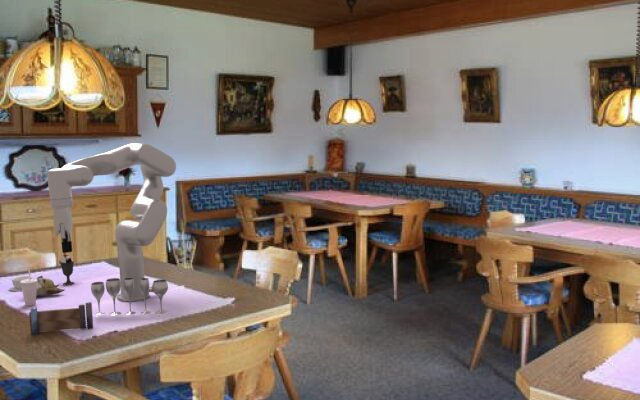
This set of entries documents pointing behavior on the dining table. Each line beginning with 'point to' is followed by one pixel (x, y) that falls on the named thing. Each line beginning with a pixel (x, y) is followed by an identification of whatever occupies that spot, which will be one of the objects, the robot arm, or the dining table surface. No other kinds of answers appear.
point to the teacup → (18, 283)
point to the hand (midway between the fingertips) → (67, 251)
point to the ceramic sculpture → (46, 287)
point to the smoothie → (29, 290)
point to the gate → (61, 319)
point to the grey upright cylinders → (35, 318)
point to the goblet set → (128, 292)
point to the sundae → (67, 268)
